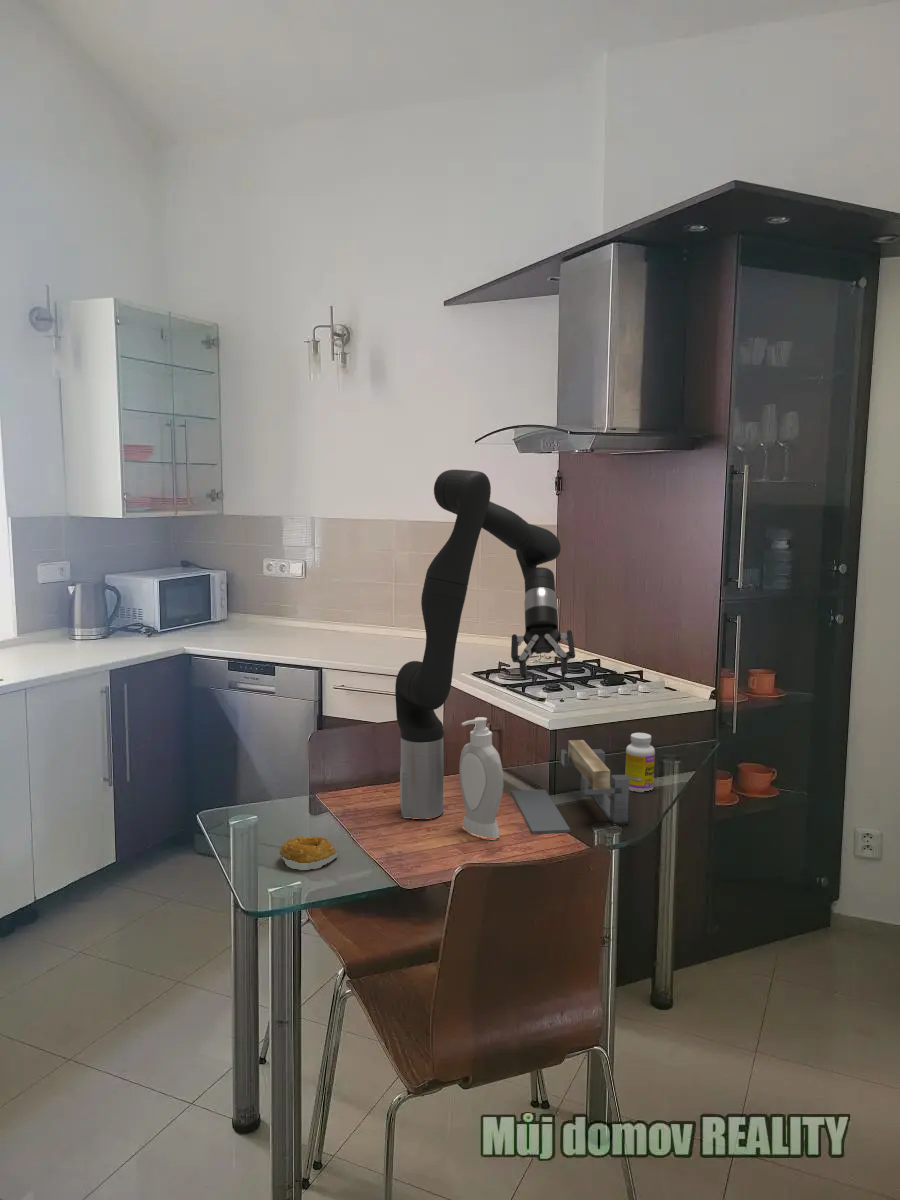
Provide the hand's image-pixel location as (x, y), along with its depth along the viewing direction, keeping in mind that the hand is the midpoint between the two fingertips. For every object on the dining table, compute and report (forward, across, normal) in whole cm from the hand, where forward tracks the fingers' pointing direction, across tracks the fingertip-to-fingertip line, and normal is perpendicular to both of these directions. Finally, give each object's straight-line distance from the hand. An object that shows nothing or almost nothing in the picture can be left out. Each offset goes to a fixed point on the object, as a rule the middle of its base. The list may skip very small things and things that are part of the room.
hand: (544, 676), depth 204 cm
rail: (+20, +8, +9) cm, 23 cm away
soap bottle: (+35, -15, -3) cm, 38 cm away
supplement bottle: (+19, +19, +27) cm, 38 cm away
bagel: (+42, -45, -19) cm, 65 cm away
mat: (+28, -3, +10) cm, 29 cm away
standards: (+26, +8, +14) cm, 31 cm away
